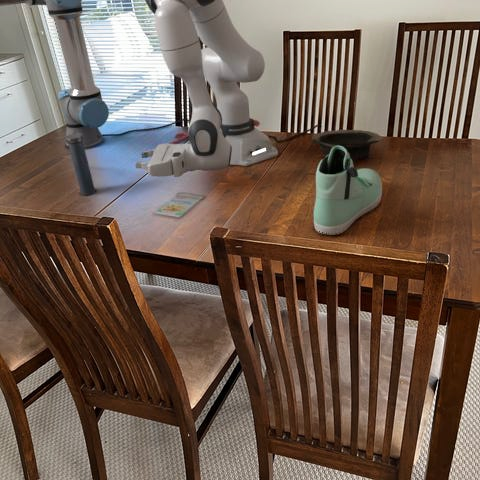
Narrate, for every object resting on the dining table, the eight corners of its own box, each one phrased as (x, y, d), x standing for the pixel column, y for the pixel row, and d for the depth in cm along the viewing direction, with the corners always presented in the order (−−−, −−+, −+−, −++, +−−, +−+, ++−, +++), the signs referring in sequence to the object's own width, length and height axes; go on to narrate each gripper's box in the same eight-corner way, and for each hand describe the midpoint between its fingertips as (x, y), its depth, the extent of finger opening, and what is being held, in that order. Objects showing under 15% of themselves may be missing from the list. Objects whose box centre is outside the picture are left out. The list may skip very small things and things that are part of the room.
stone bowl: (339, 174, 158) (339, 147, 154) (298, 157, 178) (296, 133, 174) (397, 156, 167) (398, 130, 163) (351, 141, 187) (350, 118, 183)
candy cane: (157, 146, 195) (156, 142, 195) (181, 134, 206) (181, 131, 205) (168, 148, 192) (167, 144, 192) (192, 136, 202) (191, 132, 202)
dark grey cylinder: (88, 196, 159) (74, 140, 149) (78, 194, 161) (63, 139, 151) (97, 190, 162) (84, 135, 152) (88, 188, 164) (74, 134, 154)
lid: (75, 144, 149) (73, 139, 148) (63, 142, 151) (61, 137, 150) (86, 138, 153) (85, 134, 152) (74, 137, 155) (73, 132, 154)
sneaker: (389, 187, 148) (396, 123, 138) (356, 242, 123) (361, 168, 112) (346, 181, 154) (350, 119, 144) (306, 232, 129) (307, 161, 118)
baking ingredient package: (153, 211, 144) (180, 191, 155) (154, 213, 144) (180, 193, 156) (178, 216, 140) (203, 195, 152) (178, 217, 141) (204, 197, 152)
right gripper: (184, 138, 161) (143, 139, 162) (176, 159, 144) (130, 161, 144) (186, 156, 164) (146, 157, 165) (178, 179, 147) (134, 181, 147)
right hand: (139, 159), depth 155 cm, fingers open, 8 cm apart
